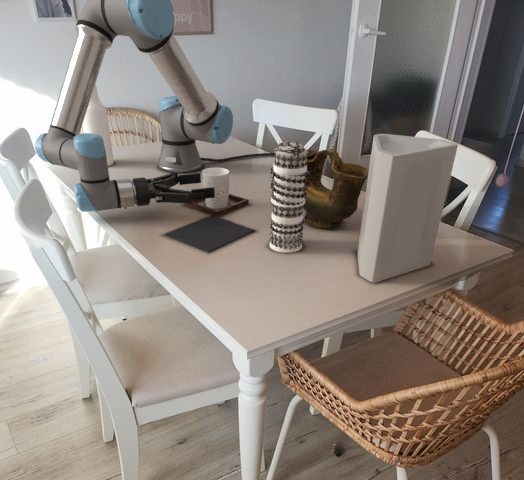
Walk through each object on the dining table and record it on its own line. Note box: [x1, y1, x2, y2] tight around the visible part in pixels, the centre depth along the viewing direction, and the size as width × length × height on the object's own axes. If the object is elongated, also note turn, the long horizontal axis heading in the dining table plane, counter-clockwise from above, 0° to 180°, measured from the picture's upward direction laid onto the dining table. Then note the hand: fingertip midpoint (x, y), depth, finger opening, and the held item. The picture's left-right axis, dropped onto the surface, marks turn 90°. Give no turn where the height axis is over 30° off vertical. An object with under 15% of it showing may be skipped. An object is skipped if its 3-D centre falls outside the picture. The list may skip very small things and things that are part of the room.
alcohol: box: [82, 82, 115, 167], centre depth 177 cm, size 9×9×30 cm
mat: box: [164, 214, 255, 253], centre depth 138 cm, size 18×16×1 cm
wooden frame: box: [184, 193, 250, 218], centre depth 154 cm, size 14×14×2 cm
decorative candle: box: [268, 141, 309, 254], centre depth 125 cm, size 9×9×25 cm
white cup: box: [201, 167, 230, 210], centre depth 152 cm, size 8×8×10 cm
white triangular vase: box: [356, 133, 459, 284], centre depth 118 cm, size 19×15×28 cm
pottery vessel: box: [303, 148, 369, 230], centre depth 140 cm, size 25×11×20 cm, turn 40°
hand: (207, 184), depth 150 cm, fingers open, 13 cm apart
